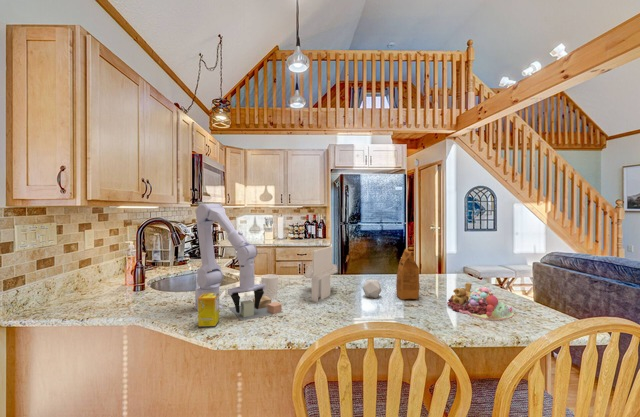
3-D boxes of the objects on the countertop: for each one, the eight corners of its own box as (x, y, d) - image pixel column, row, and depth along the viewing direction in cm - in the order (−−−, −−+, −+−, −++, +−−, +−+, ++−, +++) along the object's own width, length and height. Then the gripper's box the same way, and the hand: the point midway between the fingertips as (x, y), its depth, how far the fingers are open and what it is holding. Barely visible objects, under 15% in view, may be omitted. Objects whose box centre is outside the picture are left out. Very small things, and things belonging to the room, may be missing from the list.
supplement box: (203, 322, 116) (202, 293, 116) (219, 321, 116) (219, 292, 116) (197, 328, 110) (197, 297, 110) (215, 328, 110) (215, 297, 110)
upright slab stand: (301, 287, 164) (301, 242, 164) (341, 287, 164) (341, 243, 163) (294, 304, 137) (294, 251, 136) (343, 305, 136) (343, 251, 135)
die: (383, 296, 149) (374, 278, 154) (385, 292, 142) (376, 273, 146) (368, 303, 148) (359, 285, 153) (369, 299, 141) (360, 280, 145)
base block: (257, 309, 129) (257, 301, 129) (252, 305, 134) (252, 298, 134) (271, 306, 133) (271, 299, 133) (265, 302, 138) (265, 295, 138)
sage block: (243, 317, 120) (243, 304, 120) (240, 314, 123) (240, 301, 123) (253, 315, 122) (253, 302, 122) (250, 312, 126) (250, 299, 125)
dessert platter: (437, 307, 133) (437, 286, 133) (463, 297, 148) (463, 277, 148) (501, 325, 114) (501, 300, 113) (523, 310, 129) (523, 288, 129)
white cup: (269, 301, 141) (269, 279, 141) (257, 298, 146) (257, 276, 145) (281, 297, 147) (281, 275, 147) (270, 294, 152) (270, 273, 152)
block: (273, 314, 124) (273, 306, 123) (267, 311, 126) (267, 304, 126) (281, 311, 126) (281, 304, 126) (275, 309, 129) (275, 301, 129)
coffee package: (415, 293, 153) (415, 248, 153) (421, 301, 141) (421, 252, 140) (394, 292, 154) (394, 248, 154) (398, 300, 142) (398, 252, 141)
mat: (241, 321, 116) (241, 320, 116) (228, 308, 131) (228, 307, 131) (282, 312, 126) (282, 312, 126) (266, 301, 140) (266, 301, 140)
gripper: (231, 280, 115) (232, 316, 115) (268, 275, 123) (268, 309, 123) (226, 276, 121) (226, 311, 121) (261, 272, 129) (261, 304, 129)
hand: (247, 310), depth 123 cm, fingers open, 7 cm apart
